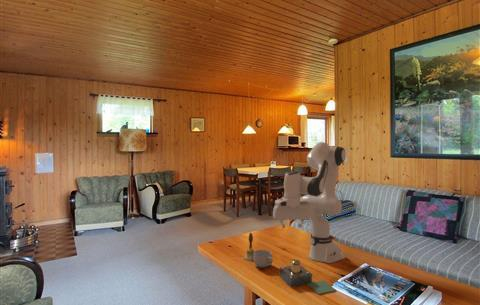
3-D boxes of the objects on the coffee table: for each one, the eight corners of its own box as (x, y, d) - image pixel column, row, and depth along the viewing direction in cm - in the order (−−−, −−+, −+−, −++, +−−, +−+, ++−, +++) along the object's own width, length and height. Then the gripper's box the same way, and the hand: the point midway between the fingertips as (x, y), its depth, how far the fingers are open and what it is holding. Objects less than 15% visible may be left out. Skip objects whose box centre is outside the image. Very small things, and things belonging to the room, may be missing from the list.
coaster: (323, 281, 141) (323, 280, 141) (336, 291, 132) (336, 289, 132) (306, 284, 138) (306, 283, 138) (318, 294, 129) (318, 293, 129)
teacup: (250, 263, 163) (250, 250, 163) (267, 260, 167) (267, 247, 167) (260, 273, 150) (260, 259, 150) (278, 270, 154) (278, 256, 154)
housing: (299, 273, 150) (299, 263, 150) (311, 283, 139) (311, 273, 139) (279, 276, 146) (279, 266, 146) (291, 287, 135) (291, 276, 135)
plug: (297, 277, 146) (297, 258, 146) (301, 281, 141) (302, 262, 141) (289, 278, 144) (289, 260, 144) (293, 283, 140) (293, 263, 139)
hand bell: (256, 255, 175) (256, 230, 175) (257, 260, 167) (257, 235, 166) (243, 255, 175) (243, 231, 174) (244, 261, 167) (244, 235, 166)
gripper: (307, 200, 150) (307, 225, 150) (272, 200, 146) (271, 226, 146) (312, 202, 143) (312, 228, 143) (275, 203, 140) (275, 230, 140)
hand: (291, 227), depth 145 cm, fingers open, 8 cm apart
